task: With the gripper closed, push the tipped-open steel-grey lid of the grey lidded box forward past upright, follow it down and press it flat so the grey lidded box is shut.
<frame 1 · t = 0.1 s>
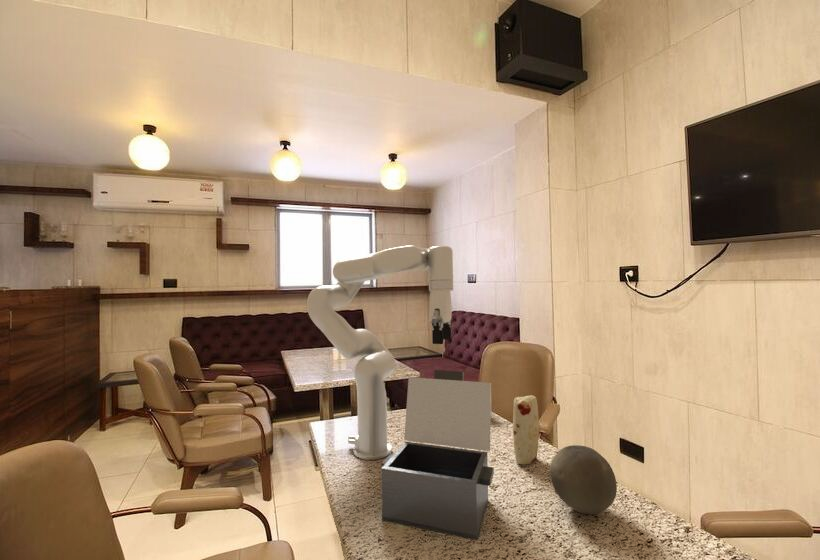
hand: (442, 341, 118), 37 cm above the table, tool pointing down, fingers open, 9 cm apart
grey lidded box: (437, 510, 92), on the table
food model: (526, 462, 117), on the table
skincare box: (479, 415, 159), on the table
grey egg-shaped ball: (583, 512, 90), on the table
lid: (447, 407, 103), point 21 cm above the table, hinge at 105.0°
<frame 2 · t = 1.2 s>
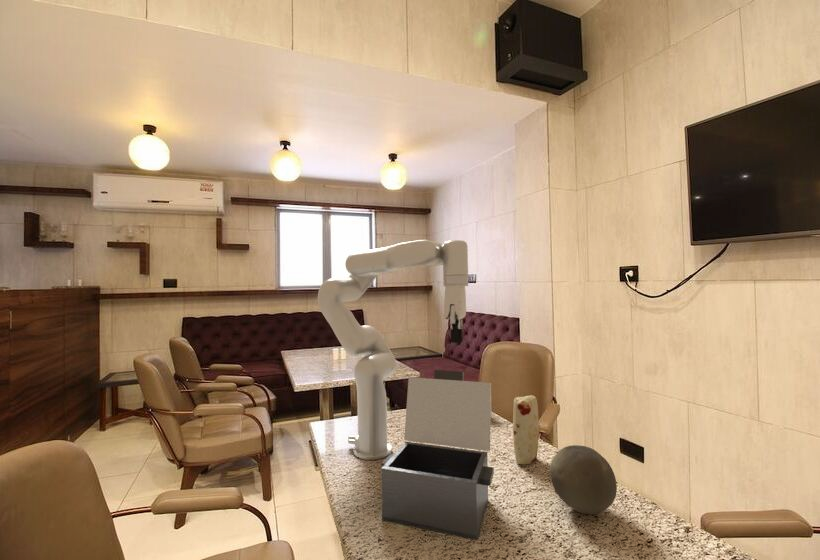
hand: (456, 342, 115), 37 cm above the table, tool pointing down, fingers closed
nothing on the table moved.
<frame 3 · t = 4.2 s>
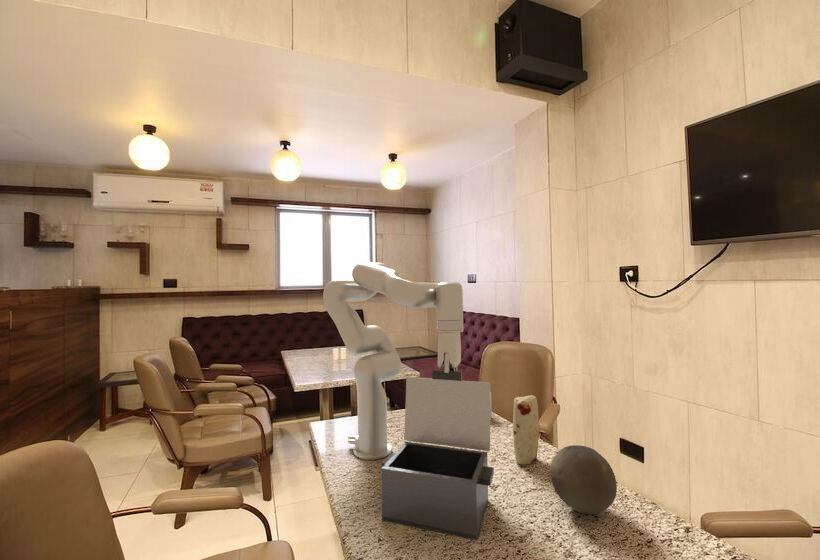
hand: (451, 391, 107), 24 cm above the table, tool pointing down, fingers closed
lid: (446, 407, 102), point 22 cm above the table, hinge at 99.0°, touching gripper
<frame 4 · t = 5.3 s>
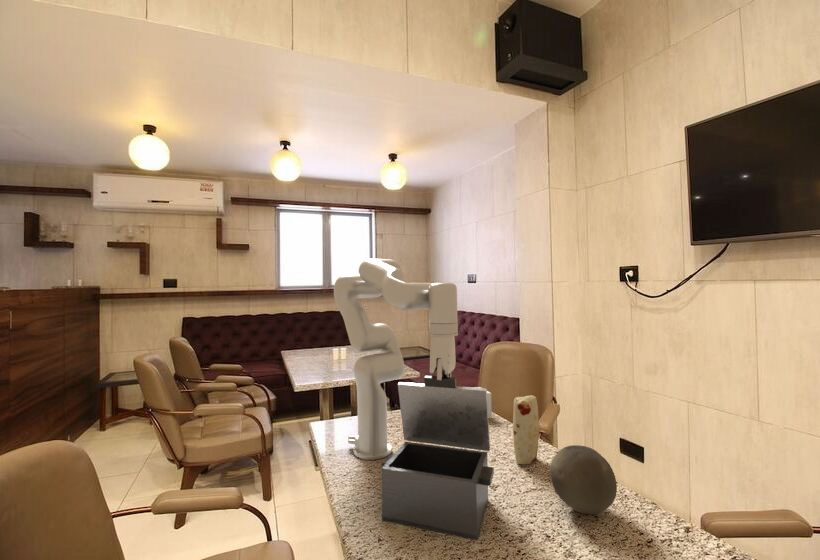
hand: (444, 399, 100), 24 cm above the table, tool pointing down, fingers closed
lid: (442, 411, 99), point 22 cm above the table, hinge at 75.9°, touching gripper
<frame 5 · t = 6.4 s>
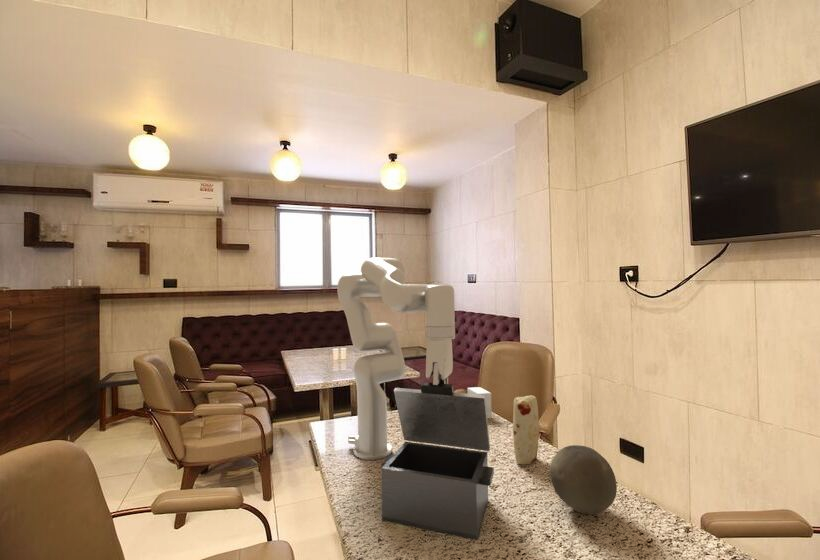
hand: (441, 404, 98), 24 cm above the table, tool pointing down, fingers closed
lid: (441, 415, 97), point 21 cm above the table, hinge at 65.5°, touching gripper
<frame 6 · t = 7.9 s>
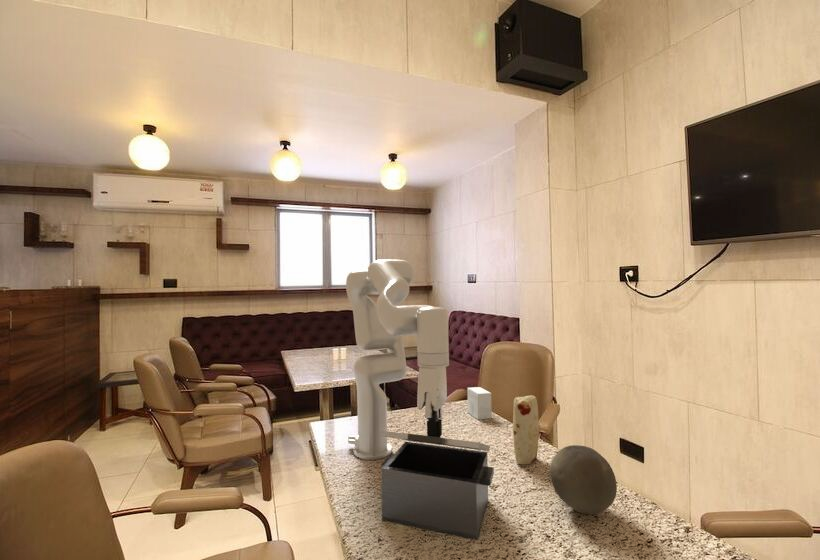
hand: (434, 436, 91), 18 cm above the table, tool pointing down, fingers closed
lid: (436, 440, 92), point 17 cm above the table, hinge at 23.9°, touching gripper
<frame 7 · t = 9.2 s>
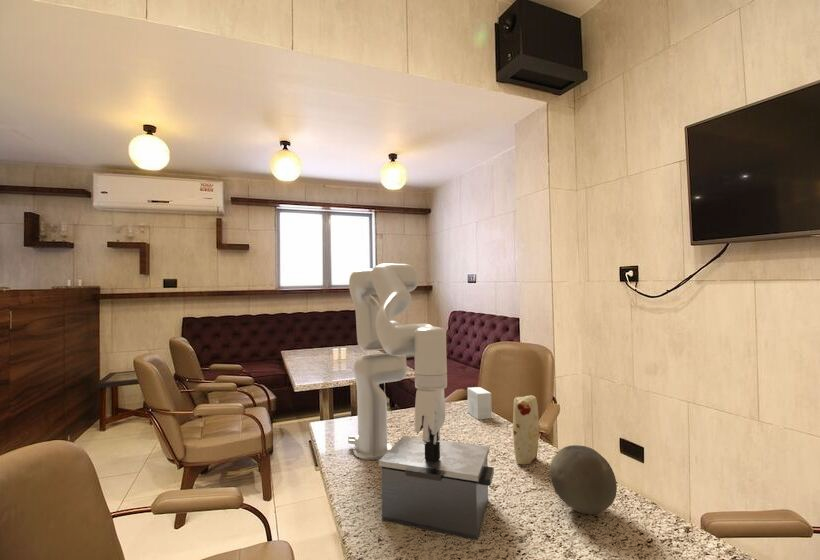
hand: (432, 459, 89), 14 cm above the table, tool pointing down, fingers closed
lid: (435, 457, 91), point 13 cm above the table, hinge at 1.4°, touching gripper
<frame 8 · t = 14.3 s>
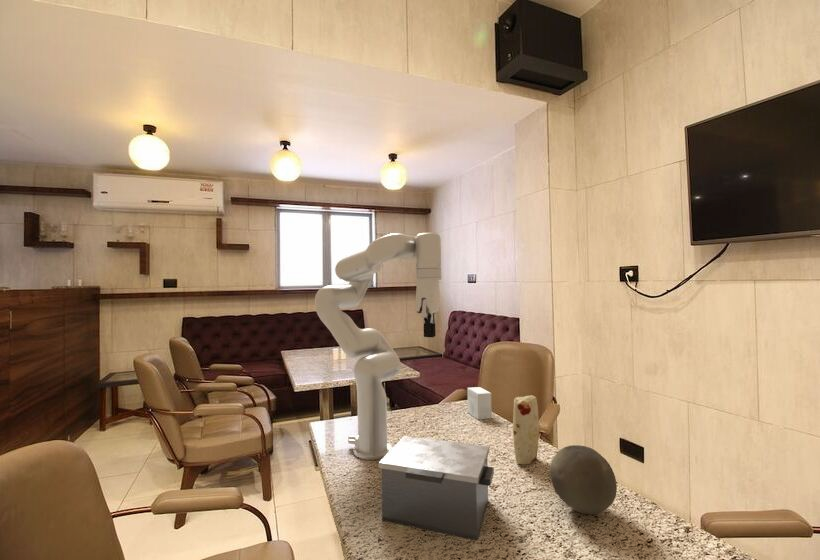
hand: (429, 336, 113), 39 cm above the table, tool pointing down, fingers closed
lid: (435, 458, 91), point 13 cm above the table, hinge at 0.0°
at the end: lid at +0° (first picture: +105°) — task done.
